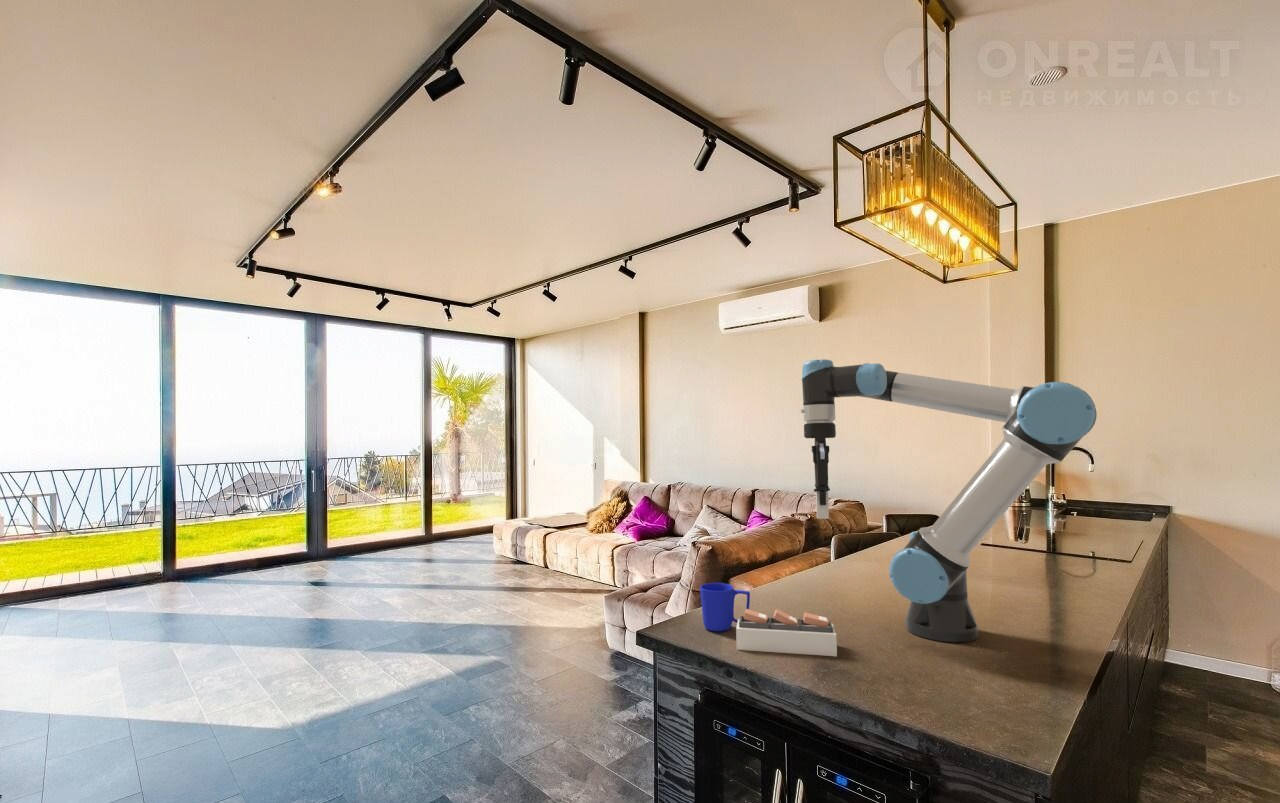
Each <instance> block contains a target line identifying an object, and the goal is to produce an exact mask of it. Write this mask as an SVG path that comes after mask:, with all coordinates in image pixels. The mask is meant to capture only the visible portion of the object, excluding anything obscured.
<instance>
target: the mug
mask: <svg viewBox="0 0 1280 803" xmlns="http://www.w3.org/2000/svg"><path fill="white" fill-rule="evenodd" d="M699 590H700V592H699V593H700V599H701V600H700V602H701V613H702V622H703V626H704V628H705V629H706V630H708V631H710V632H718V633H719V632H726V631H728V630H730V629H731V627H732V624H733V622H734V623H736V624H737V622H738V619H736V618H735V616H734V614H735V613H734V612H735V610H734V609H735V597H736V595H739V594H740V595H741V594H743V595H746V608H745V609H749V610H750V601H751V600H750V599H751V594H750V591H748V590H744V589H743V590H739V589H735V588H734V586H733V585H732V584H728V583H724V582H709V583H705V584H701V585H700V587H699Z"/></svg>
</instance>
